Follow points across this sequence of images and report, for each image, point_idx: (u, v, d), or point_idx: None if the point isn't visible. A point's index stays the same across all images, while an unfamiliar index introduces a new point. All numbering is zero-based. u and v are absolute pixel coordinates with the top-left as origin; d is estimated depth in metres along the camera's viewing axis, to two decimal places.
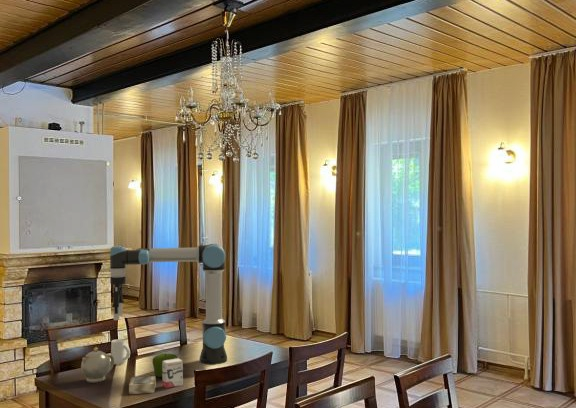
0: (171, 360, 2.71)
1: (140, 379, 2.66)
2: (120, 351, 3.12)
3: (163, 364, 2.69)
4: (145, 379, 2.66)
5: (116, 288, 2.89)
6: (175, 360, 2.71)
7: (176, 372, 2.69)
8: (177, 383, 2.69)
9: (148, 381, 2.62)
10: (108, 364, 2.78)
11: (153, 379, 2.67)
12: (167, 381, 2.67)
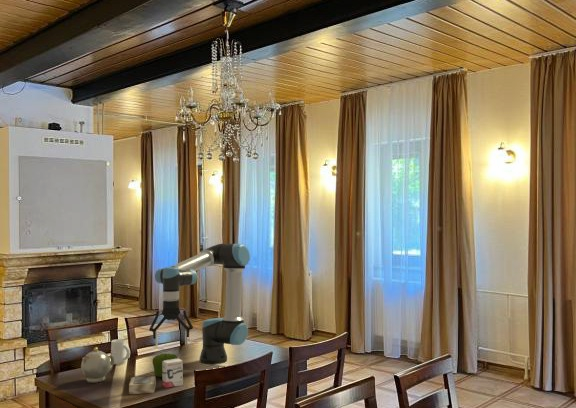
0: (171, 360, 2.71)
1: (140, 379, 2.66)
2: (120, 351, 3.12)
3: (163, 364, 2.69)
4: (145, 379, 2.66)
5: None
6: (175, 360, 2.71)
7: (176, 372, 2.69)
8: (177, 383, 2.69)
9: (148, 381, 2.62)
10: (108, 364, 2.78)
11: (153, 379, 2.67)
12: (167, 381, 2.67)
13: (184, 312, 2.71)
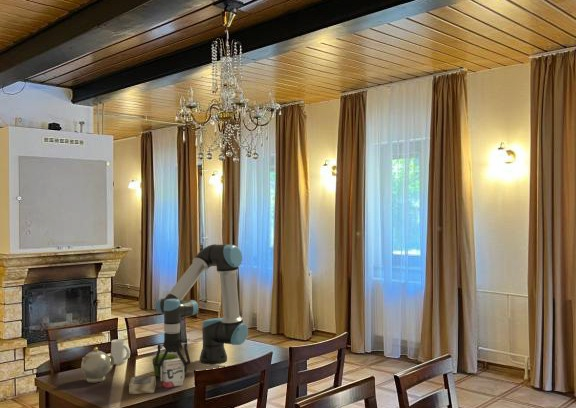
0: (171, 360, 2.71)
1: (140, 379, 2.66)
2: (120, 351, 3.12)
3: (163, 364, 2.69)
4: (145, 379, 2.66)
5: (157, 346, 2.70)
6: (175, 360, 2.71)
7: (176, 372, 2.69)
8: (177, 383, 2.69)
9: (148, 381, 2.62)
10: (108, 364, 2.78)
11: (153, 379, 2.67)
12: (167, 381, 2.67)
13: (185, 346, 2.71)
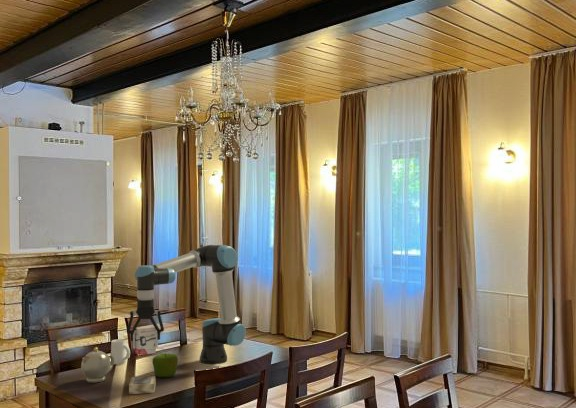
0: (144, 327, 2.66)
1: (140, 379, 2.66)
2: (120, 351, 3.12)
3: (136, 331, 2.64)
4: (145, 379, 2.66)
5: None
6: (148, 327, 2.67)
7: (149, 339, 2.64)
8: (149, 351, 2.65)
9: (148, 381, 2.62)
10: (108, 364, 2.78)
11: (153, 379, 2.67)
12: (140, 348, 2.62)
13: (158, 313, 2.66)
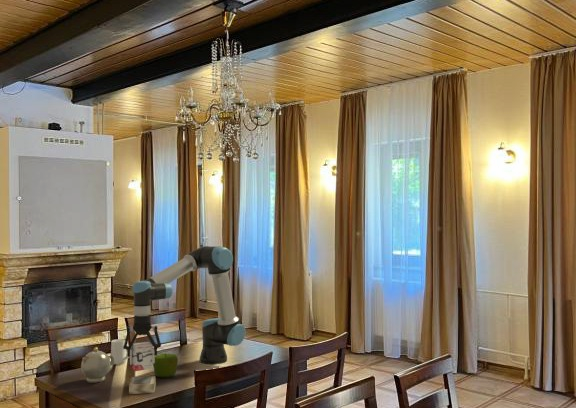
0: (141, 343, 2.66)
1: (140, 379, 2.66)
2: (120, 351, 3.12)
3: (133, 347, 2.64)
4: (145, 379, 2.66)
5: (127, 328, 2.65)
6: (145, 343, 2.66)
7: (145, 355, 2.64)
8: (146, 367, 2.64)
9: (148, 381, 2.62)
10: (108, 364, 2.78)
11: (153, 379, 2.67)
12: (136, 364, 2.61)
13: (155, 328, 2.66)
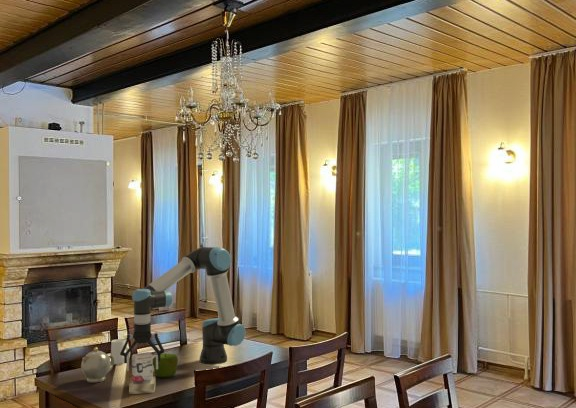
0: (141, 354, 2.66)
1: None
2: (120, 351, 3.12)
3: (132, 358, 2.64)
4: None
5: (127, 335, 2.65)
6: (145, 354, 2.66)
7: (145, 366, 2.64)
8: (146, 377, 2.64)
9: (148, 381, 2.62)
10: (108, 364, 2.78)
11: (153, 379, 2.67)
12: (136, 375, 2.61)
13: (156, 335, 2.66)
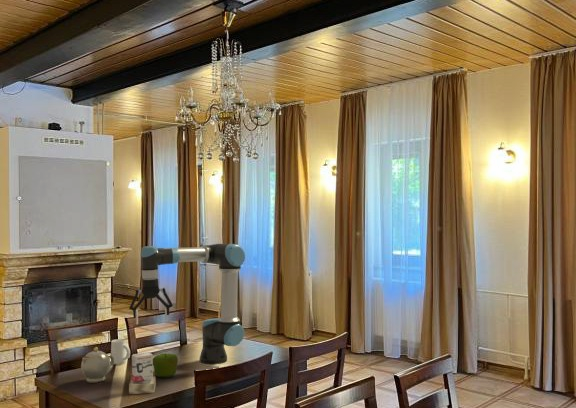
0: (141, 354, 2.66)
1: None
2: (120, 351, 3.12)
3: (132, 358, 2.64)
4: None
5: (136, 290, 2.73)
6: (145, 354, 2.66)
7: (145, 366, 2.64)
8: (146, 377, 2.64)
9: (148, 381, 2.62)
10: (108, 364, 2.78)
11: (153, 379, 2.67)
12: (136, 375, 2.62)
13: (163, 290, 2.75)
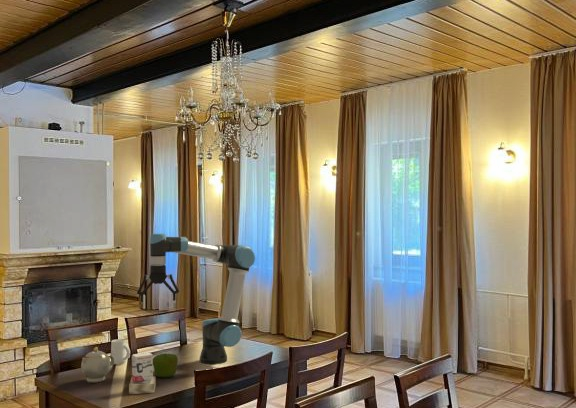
0: (141, 354, 2.66)
1: None
2: (120, 351, 3.12)
3: (132, 358, 2.64)
4: None
5: (144, 276, 2.82)
6: (145, 354, 2.66)
7: (145, 366, 2.64)
8: (146, 377, 2.64)
9: (148, 381, 2.62)
10: (108, 364, 2.78)
11: (153, 379, 2.67)
12: (136, 375, 2.62)
13: (170, 276, 2.83)
